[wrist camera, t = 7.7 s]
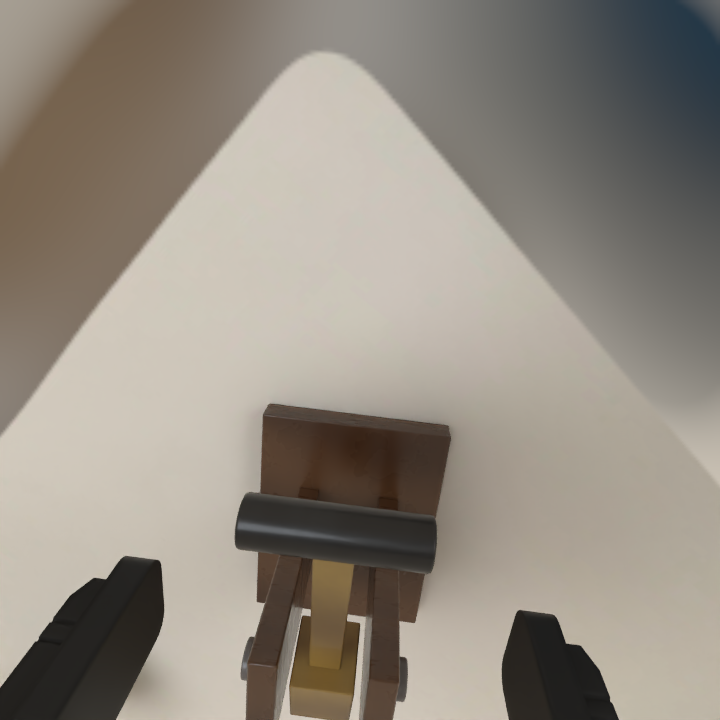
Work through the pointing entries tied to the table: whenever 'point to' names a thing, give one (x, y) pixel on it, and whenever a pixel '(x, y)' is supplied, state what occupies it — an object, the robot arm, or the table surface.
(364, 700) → the switch bracket
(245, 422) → the table surface
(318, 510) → the switch lever
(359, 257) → the table surface
